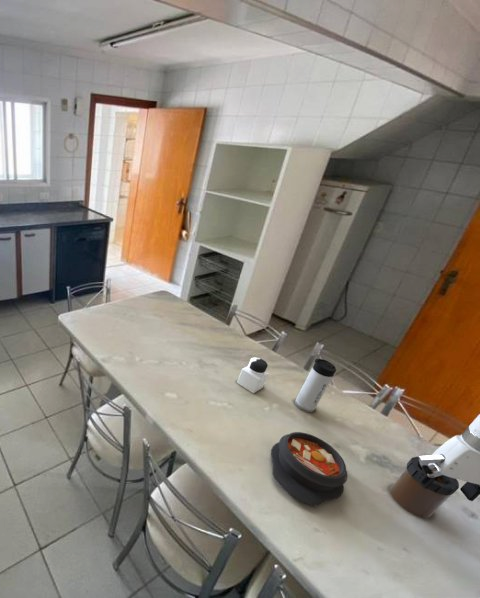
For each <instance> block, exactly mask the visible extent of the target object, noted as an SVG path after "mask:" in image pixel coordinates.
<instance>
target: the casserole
mask: <svg viewBox="0 0 480 598" xmlns="http://www.w3.org/2000/svg"><path fill="white" fill-rule="evenodd" d="M270 458H271V463H272V476H273V478H274V480H275V481H276V483H278V485H279V486H280V487H281V488H283V490H284V491H285V492H286V493H288V494H290V495H291V496H292V497H293V498H295V499H297V500H298V501H300V502H303V503H304V504H307V505H310V506H312V507H313V506H314V507H319V506H320V505H322V504H324V503H326V502H328V501H333V500H336V499H338V498H340V497H341V496H342V495H343V494H344V490H345V486H344V485H345V484H346V482H347V481H348V471H347V465H346V463H345V460H344V459H343V457H342V456H341V455H340V453H339V452H338V451H337V450H336V449H335V448H334V447H333V446H331V445H330V444H329V443H328V442H327V441H324V440H323V439H321V438H319V437H317V436H315V435H313V434H311V433H308V432H307V433H306V432H301V431H294V432H290V433H288V434H285V435H283V436H282V437H281V438H280V439H279V441H278V442H276V443H275V444H274V445H272V447H271V450H270Z"/></svg>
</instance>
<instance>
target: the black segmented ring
mask: <svg viewBox="0 0 480 598" xmlns="http://www.w3.org/2000/svg"><path fill="white" fill-rule="evenodd" d="M405 467H406V468H405V469H407V471H408V472H409V474H410V475H411V476H412V477H413V478H414V479H415V480H416V481H417V482H418V480H417V479H416V477H417V476H418V474H419V473H420V472H421V470H420V468H419V467H421V466H420V464H419V456H413V457H412V458H410V459H409V461H408V462H407V463H406V466H405ZM439 467H441V466H439ZM435 469H437V468H435ZM430 470H431V469H430ZM437 470H438V469H437ZM440 478H441V479H442V480H443V482H444V483H445V484H442V483H439V482H437V481H434V482H433V483H432V484H431V485H430V486H429V487H428V488H427V489H429V490H431V491H433V492H436V493H438V494H442V495H447V496H448V495H451V494H452V495H454V494H455V493H456V491H457V490H459V489H460V482H459V479H455V478H451V477H448V476H445V475H441V476H440ZM418 483H419V482H418ZM452 495H451V496H452Z"/></svg>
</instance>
